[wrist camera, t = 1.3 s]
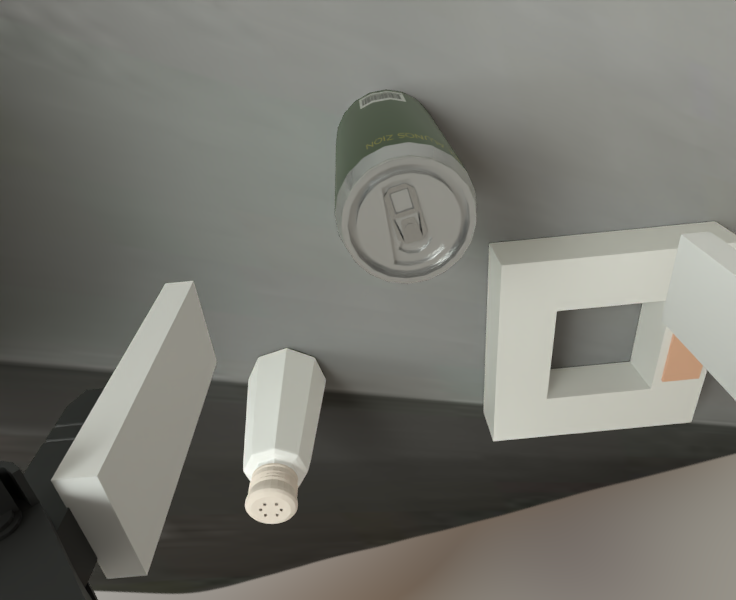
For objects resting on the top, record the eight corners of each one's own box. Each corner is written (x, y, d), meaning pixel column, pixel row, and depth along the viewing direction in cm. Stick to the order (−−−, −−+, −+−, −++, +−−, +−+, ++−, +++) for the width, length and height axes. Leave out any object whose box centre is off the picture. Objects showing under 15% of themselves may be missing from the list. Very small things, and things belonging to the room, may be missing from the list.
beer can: (321, 107, 29) (312, 180, 18) (418, 72, 28) (464, 127, 18) (354, 198, 31) (362, 305, 21) (443, 168, 31) (496, 264, 20)
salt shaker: (326, 347, 37) (322, 474, 27) (325, 407, 40) (321, 541, 30) (246, 346, 36) (214, 474, 27) (251, 406, 39) (223, 542, 30)
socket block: (483, 411, 41) (493, 443, 38) (489, 243, 33) (502, 267, 31) (668, 393, 40) (692, 424, 38) (714, 221, 33) (748, 243, 30)
